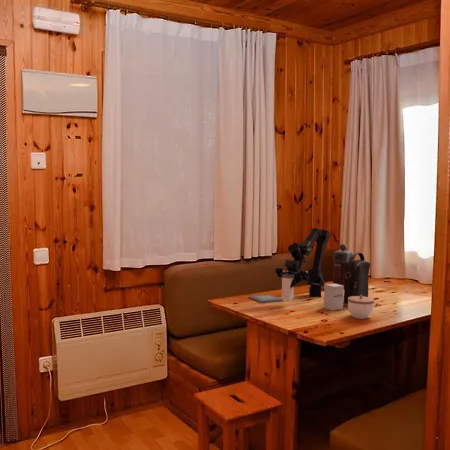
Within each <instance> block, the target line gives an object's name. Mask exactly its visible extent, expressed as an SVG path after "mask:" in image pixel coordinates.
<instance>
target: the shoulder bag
mask: <svg viewBox="0 0 450 450" xmlns="http://www.w3.org/2000/svg"><path fill="white" fill-rule="evenodd" d="M356 256H358V257H359V259H356V260H355V258H356ZM370 268H371V263H370V262H369V261H366V260H365V256H364V254H363V253H362V252H352V254H351V256H350V258H349V261H348V262H347V263H346V269H345V289H344V294H343V306H348V297H351V296H360V295H362V296H363V297H369V273H370Z"/></svg>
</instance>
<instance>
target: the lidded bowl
mask: <svg viewBox="0 0 450 450" xmlns="http://www.w3.org/2000/svg"><path fill="white" fill-rule="evenodd" d="M374 303H375V299H374V298H372V297H369V296H368V297H363V296H362V295H360V296H351V297H348V305H347V306H348V311H349V313H350V315H352V318H355V319H359V320H361V319H362V320H365V319H368V317H370V316H371V314H372V313H373V311H374V305H375V304H374Z"/></svg>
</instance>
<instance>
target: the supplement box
mask: <svg viewBox="0 0 450 450" xmlns="http://www.w3.org/2000/svg"><path fill="white" fill-rule="evenodd" d="M323 288H324V290H323V291H324V292H323V308H324V309H326V310H330V311H337V310H343V308H344V305H343V303H344V286H343V285H339V284H333V283H326V284H325V283H324V286H323Z"/></svg>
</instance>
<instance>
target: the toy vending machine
mask: <svg viewBox="0 0 450 450" xmlns="http://www.w3.org/2000/svg"><path fill="white" fill-rule="evenodd" d="M347 249H348V245H347V244H346V243H342V244H340V245H339V250H334V252H333V264H332V265H333V268H332V271H333V272H332V284H339V285H343V286H344V289H345V269H346V263H347V262H348V261H349V258H350V256H351V254H353V251H351V250H347Z"/></svg>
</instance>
